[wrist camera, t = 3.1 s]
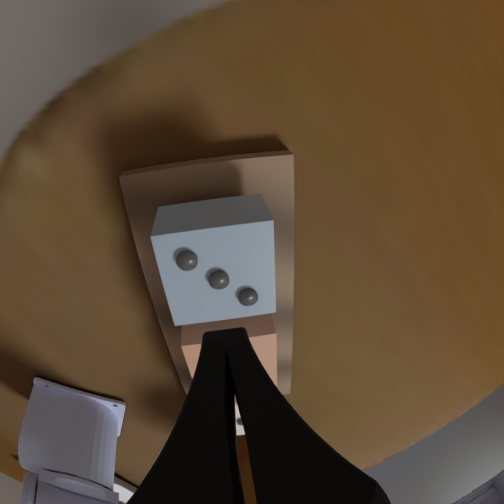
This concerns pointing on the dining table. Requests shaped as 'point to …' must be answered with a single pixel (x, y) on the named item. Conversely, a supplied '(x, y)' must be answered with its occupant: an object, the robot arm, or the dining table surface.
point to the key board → (213, 187)
